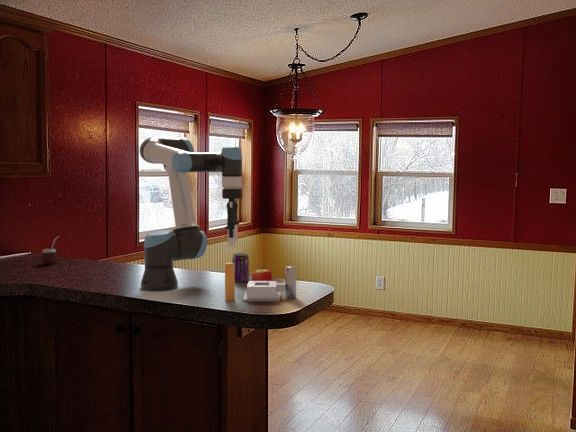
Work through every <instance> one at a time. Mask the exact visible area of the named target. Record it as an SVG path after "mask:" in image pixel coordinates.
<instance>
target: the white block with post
mask: <svg viewBox="0 0 576 432" xmlns="http://www.w3.org/2000/svg"><path fill="white" fill-rule="evenodd" d="M282 292H285V299H286V300H295V299H297V266H294V265H289V266H288V265H287V266H285V282H278V281H277V280H271V281H253V280H248V282H247V286H246V291H244V294H243V297H242V302H281V296H282V295H281V293H282Z"/></svg>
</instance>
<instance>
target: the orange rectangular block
mask: <svg viewBox="0 0 576 432" xmlns="http://www.w3.org/2000/svg"><path fill="white" fill-rule="evenodd" d="M235 286H236V285H235V272H234V263H233V262H225V263H224V299H225V300H224V301H226V302H234V301H236V300H235V299H236V298H235V297H236V296H235V295H236V293H235V292H236V290H235V289H236V288H235Z"/></svg>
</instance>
